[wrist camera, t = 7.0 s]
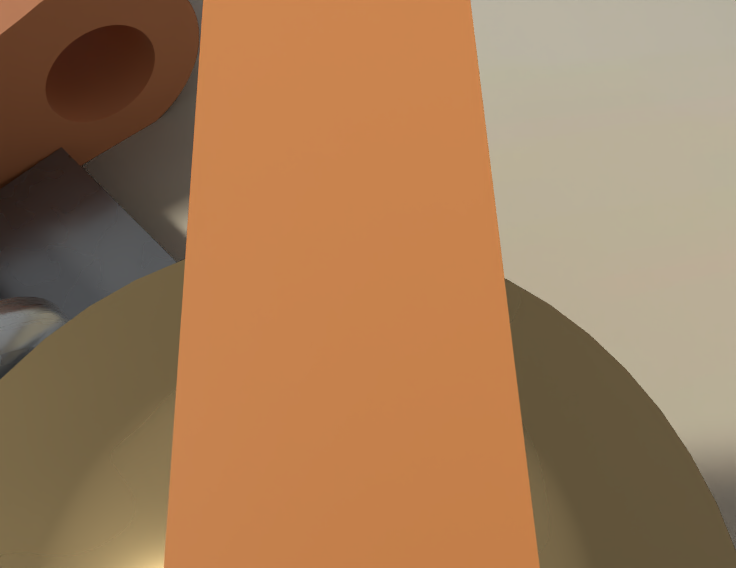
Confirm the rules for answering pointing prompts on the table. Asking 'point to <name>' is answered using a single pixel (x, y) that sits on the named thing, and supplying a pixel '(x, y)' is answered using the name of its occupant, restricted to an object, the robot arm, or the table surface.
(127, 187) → the table surface
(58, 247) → the socket plate
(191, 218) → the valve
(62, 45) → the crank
